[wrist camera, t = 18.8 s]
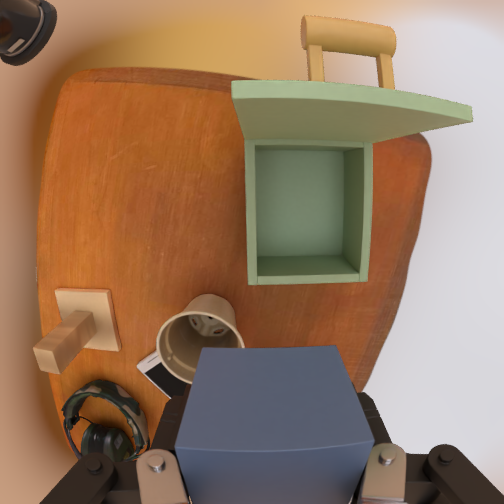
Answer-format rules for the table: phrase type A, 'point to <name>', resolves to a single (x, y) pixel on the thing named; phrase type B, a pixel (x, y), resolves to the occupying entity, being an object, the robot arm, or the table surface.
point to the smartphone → (161, 376)
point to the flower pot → (196, 334)
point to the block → (272, 428)
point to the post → (78, 328)
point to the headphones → (103, 437)
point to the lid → (340, 94)
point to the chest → (308, 210)
